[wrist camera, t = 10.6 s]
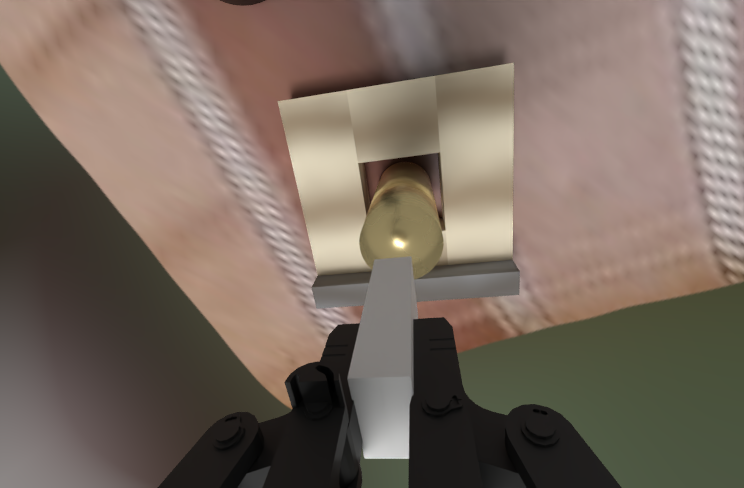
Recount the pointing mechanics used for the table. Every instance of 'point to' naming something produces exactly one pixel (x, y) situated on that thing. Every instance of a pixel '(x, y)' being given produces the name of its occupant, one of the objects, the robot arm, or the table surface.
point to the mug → (242, 2)
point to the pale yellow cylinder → (403, 220)
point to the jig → (403, 139)
